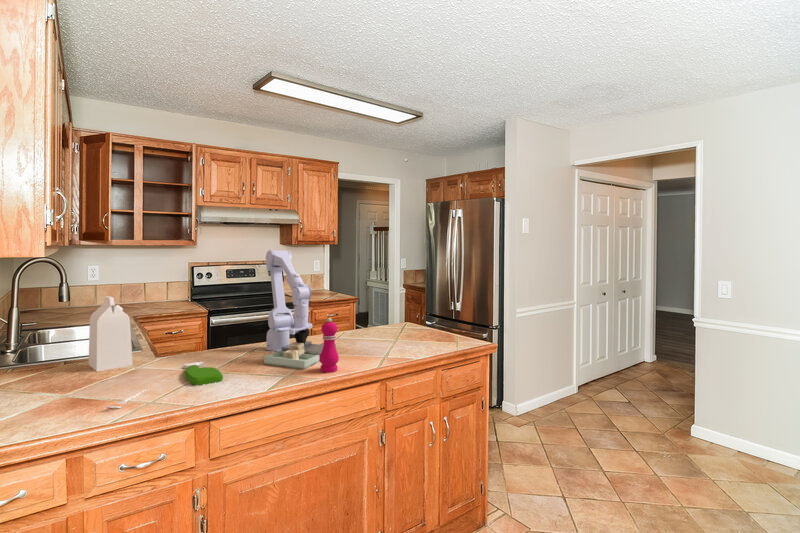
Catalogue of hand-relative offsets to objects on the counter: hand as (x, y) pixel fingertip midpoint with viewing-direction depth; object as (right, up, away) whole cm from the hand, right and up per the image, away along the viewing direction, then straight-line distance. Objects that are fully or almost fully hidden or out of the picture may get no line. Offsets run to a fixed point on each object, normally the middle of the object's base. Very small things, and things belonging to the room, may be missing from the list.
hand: (301, 348), depth 180 cm
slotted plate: (+2, -4, +6) cm, 8 cm away
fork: (-41, -7, -47) cm, 63 cm away
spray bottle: (-31, -6, -23) cm, 39 cm away
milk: (-69, -4, -14) cm, 71 cm away
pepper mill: (+14, -6, -15) cm, 21 cm away
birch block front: (-2, -1, -5) cm, 5 cm away
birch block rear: (-1, -2, -3) cm, 3 cm away
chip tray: (-2, -5, -6) cm, 8 cm away
